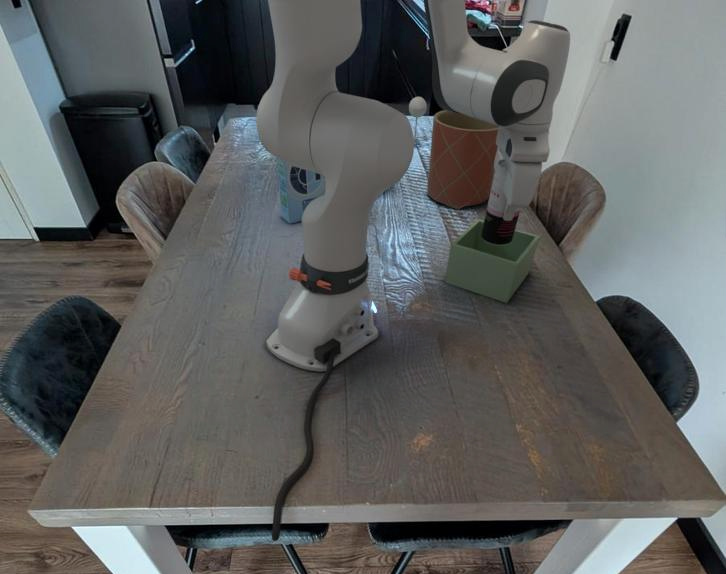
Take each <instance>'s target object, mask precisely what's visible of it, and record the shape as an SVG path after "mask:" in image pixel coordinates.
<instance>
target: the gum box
mask: <svg viewBox="0 0 726 574" xmlns="http://www.w3.org/2000/svg"><path fill="white" fill-rule="evenodd" d="M275 162H276V171H277V181H278V190H279V201H280V212H281V218H282V219H283V220H285V221H286V222H287V223H288V224H289V225H291V224H295V223H298V222H302V215H303V212H304V210H305V209H306V207H307V206H308V204H309V203H310V202H311V201H313V200H314V199H316V198H318V197H320V196H322V195H324V194H325V190H326V181H325V178H324V176H323V175H321V174H318V173H314V172H311V171H307V170H304V169H301V168H297V167H294V166H291V165H289V164H287V163H285V162H284V161H282V160H280V159H278V158H277V157H275Z"/></svg>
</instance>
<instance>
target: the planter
mask: <svg viewBox="0 0 726 574" xmlns="http://www.w3.org/2000/svg"><path fill="white" fill-rule="evenodd" d="M432 120H433V122H432V131H431V132H432V133H431V140H430V141H431V142H430V153H429V163H428V165H429V166H428V167H429V168H428V175H427V176H428V178H427V189H426V190H427V196H428V197H430V198H431V199H432V200H434V201H435V202H438V203H440V204H443V205H446V206H447V207H450V208H453V209H455V210H460V209H462V208H463V207H470V206H476V205H477V206H478V205H480V204H483V203H485V202H486V201H489V197H490V193H491V188H492V184H493V179H494V175H495V170H494V160H495V156H496V152H497V148H498V146H497V145H496V137H497V133H498V128H499V126H496V125H493V124H490V123H487V122H484V121H480V120H478V119H475V118H472V117H469V116H467V115H464V114H459V113H455V112H450V111H446V110H444V109H442V110H440V111H438V112H436V113H435V114H434V115H433V119H432Z"/></svg>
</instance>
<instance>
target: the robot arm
mask: <svg viewBox="0 0 726 574" xmlns="http://www.w3.org/2000/svg"><path fill="white" fill-rule="evenodd" d="M422 1H423V6H424V13H425V20H426V26H427V32H428V38H429V45H430V50H431V51H430V52H431V65H432V66H431V67H432V68H431V70H432V71H431V86H432V87H431V88H432V93H433V97H434V100H435V102H436V104H437V105H438V106H439V107H440V108H441V109H442V110H446V111H450V112H455V113H459V114H464V115H467V116H469V117H472V118H475V119H478V120H480V121H484V122H487V123H490V124H493V125H496V126H499V128H498V133H497V137H496V145H497V146H498V148H497V152H496V156H495V160H494V170H496V166H497V165H498V162H499V161H500V160H502V159H505V160H504V163H505V164H506V165H507V168H508V169H509V171H507V176H506V180H505V184H504V188H503V192H504V194H505V197H506V199H507V205H506V208H504V211H503V215H502V216H503V219H504V220H505V221H511V220H512V219H513V216H514V212H515V211H516V209H517V208H521V209H524V208H528V207H529V205H530V204H531V202H532V201H533V198H534V196H535V193H536V190H537V187H538V184H539V181H540V179H541V178H540V177H541V174H542V169H543V163H546V162H547V161H548V159H549V156H550V150H551V149H550V143H549V142H550V141H549V135H550V127H551V124H552V120H553V115H554V113H553V112H554V104H555V102H556V99H557V97H558V95H559V94H560V91H561V88H562V85H563V81H564V76H565V72H566V69H567V63H568V60H569V54H570V48H571V47H570V45H571V33H570V31H569V30H568V28H566V27H565V26H563V25H561V24H557V23H556V24H555V23H551V22H548V21H543V20H537V19H536V20H535V19H533V20H529V21H526V22H525V23H524V25H523V26H522V29H521V31H520V35H519V36H518V37H517V38H516V40H514V42H513V43H511V44H510V45H509V46H507V47H506V48H503V49H502V50H498V49H493V48H490V47H486V46H483V45H481V44H479V43H478V42H477V41H476V40H474V39H473V38H472V36H471V35H470V34H469V31H468V22H467V21H468V19H467V9H466V0H422ZM267 3H268V9H269V15H270V19H271V26H272V32H273V39H274V48H275V49H274V52H275V65H274V73H273V80H272V82H271V84H270V86H269V88H268V89H267V90H266V92H265V93H264V94H263V95H262V97H261V99H260V101H259V104H258V107H257V112H256V118H255V119H256V123H255V124H256V131H257V135H258V139H259V142H260V144H261V145H262V147H263V148H264V149H265V151H266V152H268V153H269V154H271V155H272V156H274V157H275V158H276V157H277V158H278V159H280V160H282V161H284V162H285V163H287V164H289V165H291V166H294V167H297V168H301V169H304V170H307V171H311V172H314V173H318V174H321V175H323V176H324V178H325V181H326V190H325V194H324V195H322V196H320V197H318V198H316V199H314V200H313V201H311V202H310V203H309V204H308V206H307V207H306V209H305V210H304V212H303V215H302V221H301V230H302V231H301V232H302V233H301V234H302V246H303V254H302V256H301V261H300V267H299V269H298V268H295V267H292V268H291V269H290V270H289V273H288V275H289V276H288V278H289V279H290V280H291V281H296V282H297V283H296V285H295V287H294V289H293V290H292V292H291V294H290V295H289V297H288V298H287V300H286V302H285V304H284V306H283V308H282V310H281V311H280V313H279V314H278V320H277V327H276V329H275V330H274V331H273V332H272V333H271V334H270V336H268V338H267V340H266V347H267V350H269V352H270V353H271V354H272V355H273V356H275V357H276V358H278V359H279V360H281V361H283V362H285V363H287V364H289V365H292V366H294V367H295V368H299V369H302V370H306V371H310V372H325V373H324V375H323V377H322V378H321V380H320V381H319V383H318V384H316V386H315V388H314V389H313V391H312V393H311V395H310V397H309V399H308V403H307V406H306V411H305V417H304V425H303V427H304V428H303V431H304V438H305V443H306V450H305V451H306V452H305V454H304V455H305V456H304V458H303V460H302V462H301V464H300V465H299V466H298V467H297V468H296V469H295V470H294V471H293V472H292V473H291V474H290V475H289V476H288V478H287V479H286V480H285V481H284V483H282V485H281V488H280V489H279V492H278V494H277V496H276V499H275V503H274V506H273V507H274V509H273V517H272V530H271V540H272V541H273V542H277V541H278V540H279V539H280V535H281V522H282V510H283V505H284V500H285V498H286V495H287V493H288V491H289V489H290V487H291V486H292V484H294V482H295V481H296V480H297V479H298V478H299V477H300V476H301V475H302V474H303V473H304V472H305V470H306V469H307V468H308V466H309V465H310V463H311V460H312V458H313V456H314V455H313V454H314V442H313V441H314V440H313V436H312V435H313V434H312V427H311V426H312V417H313V411H314V406H315V403H316V402H317V401H316V400H317V398H318V396H319V394H320V392H321V391H322V390H323V388H324V387H325V385H326V384H327V383H328V381H329V379H330V377H331V376H332V373H333V369H334V367H335V366H337V365H338V364H340V363H341V362H342V361H344V360H346V359H347V358H348V357H350V356H352V355H354V353H356V352H358V351H359V350H361V349H362V348H364V347H366V346H367V345H369V344H370V343H371V342H373V341H375V340H376V339H377V338H378V337H379V330H378V328H377V327H376V326H375V324H374V313H375V314H376V313H377V308H376V305H375V303H374V301H373V295H372V293H371V289H370V287H369V284H368V281H367V279H368V277H369V269H370V262H369V254H368V253H367V246H368V245H367V243H368V230H369V220H370V215H371V212H372V210H373V207H374V205H375V203H376V202H377V200H378V198H379V197H380V196H381V195H382V194H383V193H384V192H386V191H387V190H388V189H390V188H392V187H393V186H395V185H396V184H397V183H399V182H400V180H401V179H402V178H403V177H405V174H406V173H407V171H408V170H409V168H410V165H411V163H412V160H413V157H414V153H415V151H414V150H415V147H414V130H413V127H412V124H411V121H410V120H409V118H408V116H406V114H405V113H403V112H401V111H399V110H397V109H396V108H393V107H391V106H389V105H387V104H385V103H383V102H381V101H379V100H377V99H372V98H368V97H364V96H363V97H362V96H357V95H355V94H349V93H344V92H340V91H339V90H338V89H339V88H338V87H337V83H336V70H337V67H339V66H340V65H342V64H343V63H345V61H347V60H348V59H349V58H350V57H352V55H353V54H354V52H355V50H356V49H357V47H358V45H359V42H360V39H361V37H362V32H363V21H362V19H363V18H362V5H361V0H267Z"/></svg>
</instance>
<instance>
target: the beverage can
mask: <svg viewBox="0 0 726 574" xmlns="http://www.w3.org/2000/svg"><path fill="white" fill-rule="evenodd" d="M504 160H505V159H502V160H500V161H499V162H498V165H497V166H496V170H495V175H494V179H493V183H492V187H491V191H490V194H489V197H488V202H487V207H486V211H485V216H484V219H483V221H484V224H483V229H482V234H481V237H482V239H483V240H484V241H485V242H486V243H488V244H491V245H495V246H503V245H507V244H508V243H510V242H511V241H512V239H513V235H514V232H515V229H517V228H516V227H517V224H518V222H519V221H518V220H519V216H520V213H521V209H522V208H517V209H516V211H515V212H514V216H513V219H512V220H511V221H505V220H504V219H503V216H502V215H503V211H504V208H506V205H507V199H506V197H505V194H504V192H503V188H504V184H505V180H506V176H507V171H509V169H508V168H507V165H506V164H505V163H504Z"/></svg>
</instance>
